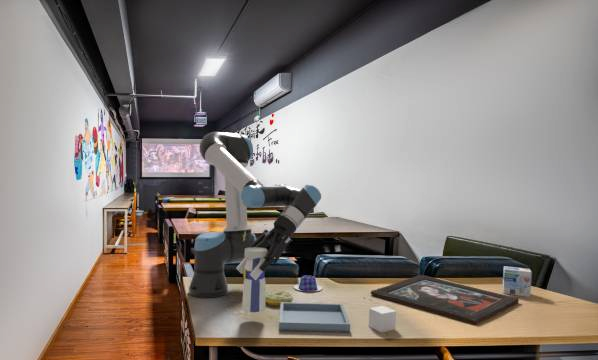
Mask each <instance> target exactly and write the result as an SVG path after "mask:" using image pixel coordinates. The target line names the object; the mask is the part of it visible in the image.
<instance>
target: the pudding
mask: <svg viewBox="0 0 598 360" xmlns="http://www.w3.org/2000/svg"><path fill="white" fill-rule="evenodd" d="M293 288H294V289H295V290H296V291H297V290H298V291H301V292H305V293H306V292H311V293H313V292H318V291H322V289H323V287H322V286H321V285H319V284H317V280H316V277H315V276H313V275H302V276H301V278H300V280H299V284H295V285H293Z"/></svg>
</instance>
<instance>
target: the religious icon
mask: <svg viewBox="0 0 598 360" xmlns="http://www.w3.org/2000/svg"><path fill="white" fill-rule="evenodd" d="M370 294H371V295H372V296H373V297H377V298H379V299H382V300H386V301H389V302H394V303H397V304H400V305H404V306H407V307H411V308H414V309H417V310H422V311H426V312H428V313H431V314H436V315H439V316H443V317H447V318H449V319H454V320H457V321H460V322H464V323H467V324H471V325H475V326H476V325H479V324H481V323H483V322H485V321H487V320H489V319H490V318H493V317H495V316H496V315H498V314H499V313H502V312H504V311H506V310H508V309H510V308H512V307H513V306H515V305H518V304H519V300H520V298H518V297H514V296H511V295H506V294H501V293H497V292H493V291H490V290H489V291H488V290H484V289H481V288H478V287H477V288H475V287H472V286H469V285H463V284H461V283H456V282H451V281H448V280H443V279H440V278H436V277H431V276H428V275H424V274H423V275H422V274H419V275H416V276H413V277H410V278H407V279H404V280H401V281H399V282H395V283H391V284H389V285H386V286H383V287H379V288H376V289H373V290H371V291H370Z"/></svg>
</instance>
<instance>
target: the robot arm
mask: <svg viewBox="0 0 598 360" xmlns="http://www.w3.org/2000/svg"><path fill="white" fill-rule="evenodd" d="M199 153H200V155H201V157H202V159H203V160H204V161H205V162H206V163H207V164H208V165H210V166H214V167H215V169H217V171H219V172H220V173H221V175H223V176H224V191H225V213H226V215H225V217H226V226H225V228H224V229H223V232H222V231H210V232H209V231H208V232H205V233H201V234H198V235H197V236H196V238H195V241H194V247H193V249H194V260H193V261H194V262H193V263H194V264H193V265H194V266H193V268H194V269H193V275H192V278H191V280H190V284H189V286H188V294H189V295H190V296H193V297H195V298H204V299H206V298H207V299H208V298H210V299H211V298H218V297H219V298H220V297H223V296H225V295H227V294H228V293H229V286H228V282H227V278H226V275H225V265H228V264H234V263H239V262H240V263H239V264H238V265H237V267H236V270H237V271H238V272H239V273H240V274H242V275H243V272H244V267H245V265H246V259H245V256H244V253H245V250H244V249H245V248H265V249H267V247H269V249H268V250H267V251H268V253H267V255H266V256H265V257H264V259H262V260H261V261H260V262H259V264H258V265H257V266H256V267H255V269H254V270H253V271H252V272H251V273H250V275H251V277H252V278H253V279H254V280H257V278H258V277H259V276H260V275H261V273H262V272H263V271H264V272H265V270H267V268H268V267H269V265H272V264H277V262H278V261H279V260H280V258H281V256H282V255H283V253H284V252H285V250H286V249H287V247H288V246H289V245H290V243H291V242H292V239H291V237H293V235H294V233H295V232H296V231H297V229H298V228H299V227H300V226H301V225H302V223H303V222H304V221H305V220H306V219H307V217H308V216H309V215H310V214H311V212H312V211H314V209H315V207H317V205H318V204H319V202H320V200H321V199H322V193H321V192H320V190H319V189H318V188H317V187H316V186H314V185H313V184H311V183H310V184H308V183H307V184H305V185H304V186H303V187H302V188H298V187H297V188H296V187H293V186H289V185H287V184H284V183H282V184H281V183H276V184H274V185H264V184H263V183H261V181H259V179H257V178H256V177H255V176H254V175H253V174H252V173H251V172H250V171H249V170H247V166H248V165H249V161H251V159H252V157H253V154H254V147H253V143H252V141H251V139H250V137H248V136H247V135H244V134H241V133H233V132H224V131H223V132H222V131H221V132H220V131H212V132H209V133H206V135H204V136H203V137H202V139H201V141H200V144H199ZM273 207H274V208H275V207H277V208H278V207H286V208H284V210H283V211H282V212H281V214H280V215H279V216H278V217H277V218H276V219H275V220H274V222H273V228H272V229H270V231H269V230H268V229H264V230H263V232H262V233H261V234H260V236H258V237H256V234H254V233H253V232H252V227H250V226H249V225H248V211H247V209H248V208H253V209H257V208H258V209H259V208H273ZM244 233H246V236H245V240H244V241H243V238H244V237H243V235H244Z"/></svg>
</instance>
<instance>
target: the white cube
mask: <svg viewBox="0 0 598 360" xmlns="http://www.w3.org/2000/svg"><path fill="white" fill-rule="evenodd" d="M396 321H397V311H396V310H395V309H392V308H389V307H388V306H385V305H379V306H373V307H369V310H368V327H370V328H371V329H374V330H375V331H377V332H380V333H385V332H390V331H391V332H392V331H393V330H396V323H397V322H396Z"/></svg>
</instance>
